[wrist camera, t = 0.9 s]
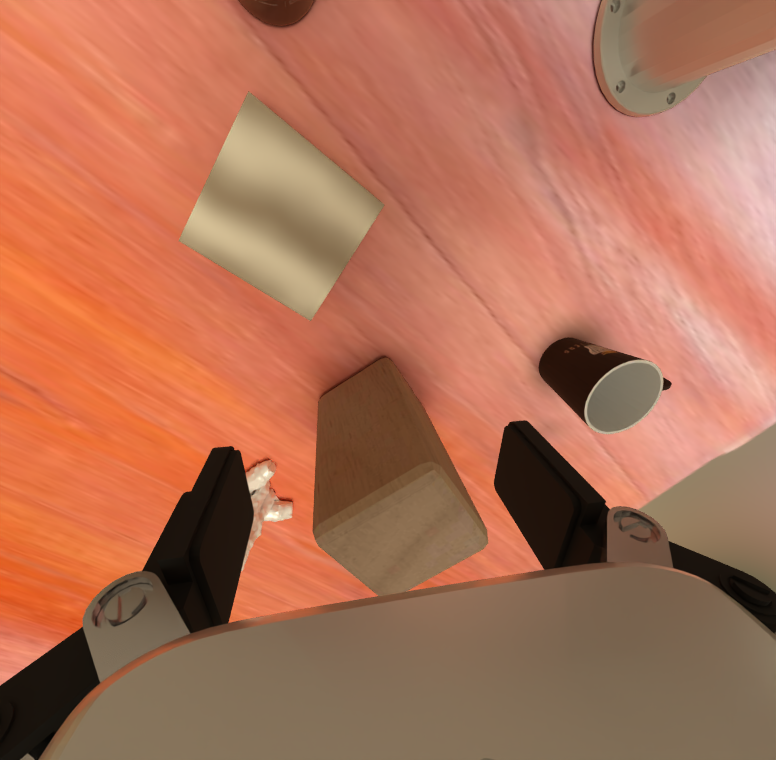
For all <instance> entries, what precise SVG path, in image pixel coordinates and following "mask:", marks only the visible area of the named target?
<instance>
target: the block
mask: <svg viewBox="0 0 776 760" xmlns="http://www.w3.org/2000/svg"><path fill="white" fill-rule="evenodd" d="M313 534H314V537H315V540H316V542H317V544H318V546H319V547H320V548H321V549H323V550H324V551H325V552H326V553H327V554H329V555H330V556H331V557H332V558H334V559H335V560H336V561H337V562H338V563H340V564H341V565H342V566H343V567H344V568H346V569H347V570H348V571H349V572H350V573H352V574H353V575H354V576H355V577H356V578H358V579H359V580H360V581H361V582H362V583H364V584H365V585H366V586H367V587H369V588H370V589H371V590H372V591H373V592H375V593H376V594H377V595H378V596H383V595H389V594H395V593H402V592H406V591H408V590H410V589H412V588H413V587H415V586H417V585H419V584H421V583H422V582H424V581H426V580H428V579H430V578H432V577H433V576H435V575H437V574H439V573H441V572H442V571H444V570H446V569H448V568H450V567H452V566H453V565H455V564H457V563H459V562H461V561H462V560H464V559H466V558H468V557H470V556H472V555H473V554H475V553H477V552H479V551H481V550H482V549H484V548H485V546H486V545H487V544H488V537H487V529H486V527H485V525H484V523H483V521H482V519H481V517H480V515H479V513H478V511H477V510H476V508H475V506H474V504H473V502H472V500H471V498H470V496H469V494H468V492H467V490H466V488H465V486H464V484H463V482H462V480H461V479H460V477H459V475H458V473H457V471H456V469H455V467H454V465H453V463H452V461H451V459H450V457H449V455H448V453H447V451H446V449H445V448H444V446H443V444H442V442H441V440H440V438H439V436H438V434H437V432H436V430H435V428H434V426H433V424H432V422H431V420H430V418H429V417H428V415H427V413H426V411H425V409H424V408H423V406H422V405H421V403H420V402H419V400H418V399H417V397H416V396H415V394H414V393H413V391H412V390H411V388H410V387H409V385H408V384H407V382H406V381H405V379H404V378H403V376H402V375H401V373H400V372H399V370H398V369H397V367H396V366H395V364H394V363H393V362H392V361H391V360H390V359H388V358H386V357H385V358H382V359H379V360H378V361H376V362H375V363H373V364H372V365H370V366H369V367H367V368H365V369H364V370H362V371H361V372H359V373H358V374H356V375H354V376H353V377H351V378H350V379H348V380H347V381H345V382H344V383H342V384H340V385H339V386H337V387H336V388H334V389H333V390H331V391H330V392H328V393H326V394H325V395H323V396H322V397H321V398H320V400H319V401H318V420H317V443H316V466H315V489H314V512H313Z"/></svg>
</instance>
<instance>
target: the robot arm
mask: <svg viewBox="0 0 776 760" xmlns="http://www.w3.org/2000/svg"><path fill="white" fill-rule="evenodd" d="M773 50H776V0H602V2H601V4H600V8H599V13H598V17H597V21H596V26H595V35H594V64H595V70H596V76H597V79H598V82H599V85H600V88H601V90H602V92H603V94H604V95H605V97H606V99H607V100H608V102H609V103H610V104H611V105H612V106H613V107H614V108H616V109H617V110H618V111H620V112H622V113H624V114H626V115H630V116H634V117H644V116H650V115H654V114H657V113H661V112H664V111H666V110H668V109H671V108H673V107H674V106H676V105H677V104H679V103H680V102H682V101H683V100H685V99H686V98H687V97H688V96H689V95H690V94H691V93H692V92H693V91H694V90H696V89H697V87H698V86H699V85H700V84H701V83H702V81H703V80H704V79H705V78H706V77H707V75H709V74H712V73H715V72H717V71H720V70H723V69H725V68H728V67H731V66H733V65H736V64H739V63H741V62H744V61H747V60H749V59H752V58H755V57H757V56H760V55H763V54H765V53H768V52H771V51H773ZM494 486H495V490H496V492H497V493H498V495H499V497H500V498H501V500H502V502H503V503H504V505H505V506H506V508H507V510H508V511H509V513H510V515H511V516H512V518H513V519H514V521H515V523H516V524H517V526H518V528H519V529H520V531H521V532H522V534H523V536H524V537H525V539H526V541H527V542H528V544H529V545H530V547H531V549H532V550H533V552H534V554H535V555H536V557H537V558H538V560H539V562H540V563H541V565H542V567H543V568H544V570H540V571H534V572H528V573H521V574H515V575H508V576H502V577H495V578H489V579H483V580H476V581H470V582H464V583H457V584H451V585H445V586H439V587H432V588H426V589H420V590H414V591H408V592H402V593H395V594H389V595H383V596H377V597H371V598H365V599H359V600H353V601H347V602H341V603H335V604H329V605H323V606H317V607H311V608H305V609H299V610H294V611H289V612H283V613H278V614H272V615H267V616H261V617H256V618H251V619H245V620H240V621H236V622H232V623H228V622H229V618H230V614H231V610H232V606H233V602H234V598H235V594H236V590H237V586H238V582H239V577H240V573H241V569H242V565H243V561H244V557H245V553H246V549H247V545H248V541H249V536H250V532H251V528H252V524H253V520H254V509H253V504H252V500H251V495H250V491H249V487H248V483H247V478H246V474H245V470H244V465H243V461H242V457H241V453H240V451H239V450H234V448H233V447H232V446H229V447H218V448H213V449H212V451H211V453H210V455H209V457H208V459H207V461H206V463H205V465H204V467H203V469H202V471H201V473H200V475H199V477H198V479H197V481H196V483H195V485H194V487H193V489H192V491H190V492H185V493H184V494H183V495H182V496H181V498H180V500H179V502H178V503H177V505H176V507H175V509H174V511H173V513H172V515H171V517H170V519H169V521H168V523H167V524H166V526H165V528H164V530H163V532H162V534H161V536H160V538H159V540H158V542H157V544H156V545H155V547H154V549H153V551H152V553H151V555H150V557H149V559H148V561H147V563H146V565H145V566H144V568H143V570H142V571H139V572H134V573H131V574H128V575H125V576H123V577H121V578H119V579H117V580H115V581H114V582H112V583H111V584H109V585H108V586H107V587H105V588H104V589H103V590H102V591H101V592H100V593H99V594H98V595H97V596H96V597H95V598H94V599H93V600H92V602H91V603H90V605H89V606H88V607H87V609H86V612H85V614H84V617H83V627H82V628H81V629H79V630H78V631H76V632H75V633H73V634H72V635H71V636H69V637H68V638H66V639H65V640H64V641H62V642H61V643H59V644H58V645H57V646H55V647H54V648H52V649H51V650H50V651H48V652H47V653H45V654H44V655H43V656H41V657H40V658H38V659H37V660H36V661H34V662H33V663H31V664H30V665H29V666H27V667H26V668H24V669H23V670H22V671H20V672H19V673H17V674H16V675H15V676H13V677H12V678H10V679H9V680H8V681H6V682H5V683H3V684H2V685H1V686H0V760H776V593H775V592H773V591H772V590H771V589H770V588H769V587H768V586H766V585H765V584H764V583H762V582H761V581H759V580H758V579H756V578H754V577H753V576H751V575H748V574H747V573H744V572H743V571H740V570H738V569H735V568H733V567H730V566H728V565H725V564H723V563H721V562H718V561H716V560H713V559H711V558H709V557H706V556H704V555H701V554H699V553H696V552H694V551H691V550H689V549H686V548H684V547H682V546H679V545H677V544H675V543H672V542H670V541H668V537H667V534H666V532H665V530H664V529H663V528H662V526H661V525H660V524H659V523H658V522H657V521H655V520H654V519H653V518H652V517H650V516H648V515H647V514H645V513H643V512H641V511H638V510H636V509H633V508H629V507H622V506H618V507H613V508H612V509H609V508H608V507H607V506H606V505H605V502H606V501H605V500H604V499H603V498H602V497H601V496H600V494H599V493H598V492H597V491H596V490H595V489H594V488H593V487H592V486H591V485H590V484H589V483H588V482H587V481H586V480H585V479H584V478H583V477H582V476H581V475H580V474H579V473H578V472H577V471H576V470H575V469H574V468H573V467H572V466H571V465H570V464H569V463H568V462H567V461H566V460H565V459H564V458H563V457H562V456H561V455H560V454H559V453H558V452H557V451H556V450H555V449H554V448H553V447H552V446H551V445H550V443H549V442H548V441H547V440H546V439H545V438H544V437H543V436H542V435H541V434H540V433H539V432H538V431H537V430H536V429H535V428H534V427H533V426H532V425H531V424H530V423H529V422H528V421H525V420H524V421H513V422H510V423H509V424H508V426H506V427H505V428H504V433H503V438H502V443H501V448H500V453H499V458H498V464H497V469H496V474H495V479H494Z"/></svg>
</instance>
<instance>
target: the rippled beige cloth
mask: <svg viewBox="0 0 776 760" xmlns="http://www.w3.org/2000/svg"><path fill="white" fill-rule="evenodd" d="M383 207H384V204H383V203H382V202H381V201H379V200H378V199H377V198H376V197H375V196H373V195H372V194H371V193H370V192H369V191H367V190H366V189H365V188H364V187H363V186H361V185H360V184H359V183H358V182H357V181H355V180H354V179H353V178H352V177H351V176H349V175H348V174H347V173H346V172H345V171H343V170H342V169H341V168H340V167H339V166H337V165H336V164H335V163H334V162H333V161H331V160H330V159H329V158H328V157H327V156H325V155H324V154H323V153H322V152H321V151H319V150H318V149H317V148H316V147H315V146H314V145H312V144H311V143H310V142H309V141H308V140H306V139H305V138H304V137H303V136H302V135H300V134H299V133H298V132H297V131H296V130H294V129H293V128H292V127H291V126H290V125H288V124H287V123H286V122H285V121H284V120H282V119H281V118H280V117H279V116H278V115H276V114H275V113H274V112H273V111H272V110H270V109H269V108H268V107H267V106H266V105H264V104H263V103H262V102H261V101H260V100H258V99H257V98H256V97H255V96H254V95H252V94H251V93H250V92H249V91H248V94H247V96H246V98H245V100H244V102H243V104H242V106H241V109H240V111H239V113H238V115H237V117H236V119H235V121H234V123H233V126H232V128H231V130H230V132H229V134H228V136H227V138H226V141H225V143H224V145H223V147H222V149H221V151H220V153H219V155H218V158H217V160H216V162H215V164H214V166H213V168H212V170H211V173H210V175H209V177H208V179H207V181H206V183H205V185H204V187H203V190H202V192H201V194H200V196H199V198H198V200H197V202H196V205H195V207H194V209H193V211H192V213H191V215H190V217H189V220H188V222H187V224H186V226H185V228H184V230H183V232H182V234H181V237H180V239H179V241H180V242H181V243H183V244H185V245H186V246H188V247H190V248H191V249H193V250H195V251H196V252H198V253H200V254H201V255H203V256H204V257H206V258H208V259H209V260H211V261H213V262H214V263H216V264H218V265H219V266H221V267H223V268H224V269H226V270H228V271H229V272H231V273H232V274H234V275H236V276H237V277H239V278H241V279H242V280H244V281H246V282H247V283H249V284H251V285H252V286H254V287H255V288H257V289H259V290H260V291H262V292H264V293H265V294H267V295H269V296H270V297H272V298H274V299H275V300H277V301H279V302H280V303H282V304H283V305H285V306H287V307H288V308H290V309H292V310H293V311H295V312H297V313H298V314H300V315H302V316H303V317H305V318H306V319H308V320H310V321H311V320H312V318H313V317H314V315H315V314H316V312H317V310H318V309H319V307H320V306H321V304H322V303H323V301H324V299H325V298H326V296H327V295H328V293H329V292H330V290H331V288H332V287H333V285H334V284H335V282H336V281H337V279H338V277H339V276H340V274H341V273H342V271H343V270H344V268H345V266H346V265H347V263H348V262H349V260H350V259H351V257H352V255H353V254H354V252H355V251H356V249H357V247H358V246H359V244H360V243H361V241H362V240H363V238H364V236H365V235H366V233H367V232H368V230H369V229H370V227H371V225H372V224H373V222H374V221H375V219H376V218H377V216H378V214H379V213H380V211H381V210H382V208H383Z"/></svg>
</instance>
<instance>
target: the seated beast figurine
mask: <svg viewBox="0 0 776 760" xmlns="http://www.w3.org/2000/svg"><path fill="white" fill-rule="evenodd" d="M271 461H272V460H267V461H264V462H262V463H257V465H256V467H252V469H250V471H249V472H246V478H247V483H248V487H249V491H250V495H251V500H252V504H253V509H254V520H253V524H252V528H251V532H250V536H249V541H248V545H247V549H246V553H245V557H244V561H243V565H242V569H241V571H242V570H243V569H244V565H245V563H246V561H247V558H248V555H249V551H250V549H251V548H252V547H253V544H254V541H255V540H256V538H258V537H259V536H260V535H261V530H262V522H263V521H274V522H276V521H278V520H281V521H283V520H284V519H289V518H292V512H293V502H289V501H280V500H279V499H278V497H277V496H276V495H275V492H274V490H273V489H269V488H270V481H269V480H270V478H271V477H272V476H273V475H274V473H275V472H276V466H275V463H274V462H271ZM255 490H256V491H255Z"/></svg>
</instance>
